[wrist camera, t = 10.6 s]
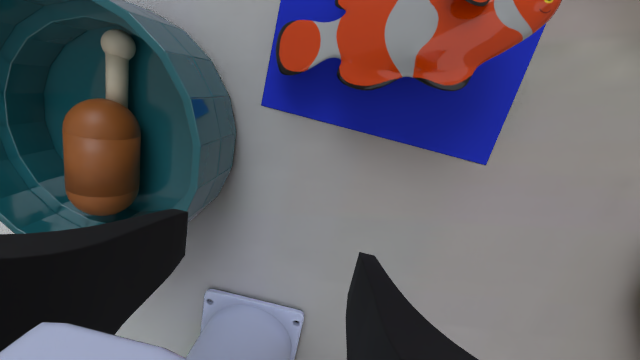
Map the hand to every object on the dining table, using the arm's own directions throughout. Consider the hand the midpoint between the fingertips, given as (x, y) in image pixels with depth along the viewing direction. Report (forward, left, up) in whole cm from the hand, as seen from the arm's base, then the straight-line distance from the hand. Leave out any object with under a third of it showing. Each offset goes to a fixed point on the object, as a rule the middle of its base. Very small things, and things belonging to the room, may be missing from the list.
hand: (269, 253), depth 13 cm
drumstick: (+2, +13, -9) cm, 15 cm away
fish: (+11, -4, -10) cm, 15 cm away
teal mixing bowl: (+2, +13, -9) cm, 16 cm away
